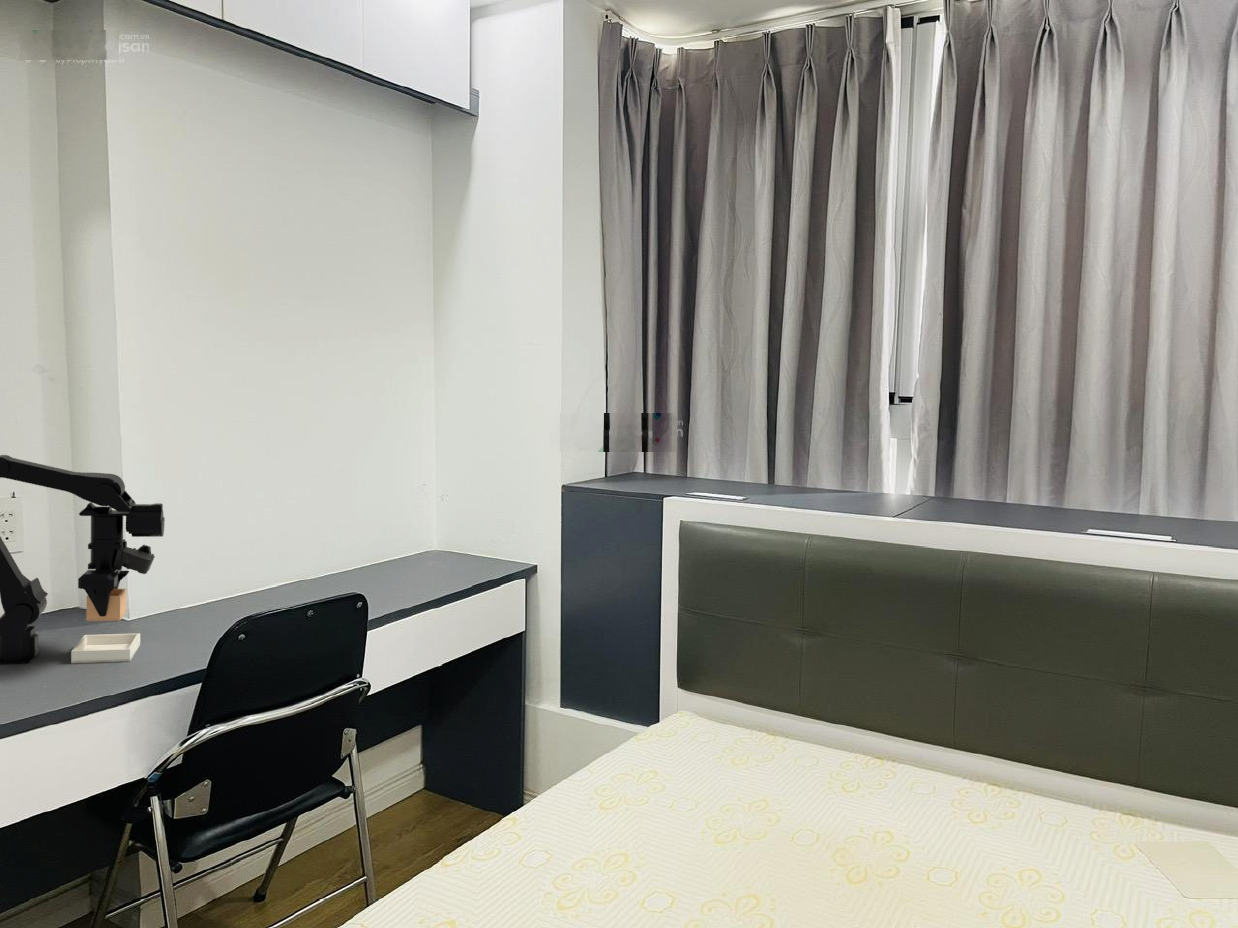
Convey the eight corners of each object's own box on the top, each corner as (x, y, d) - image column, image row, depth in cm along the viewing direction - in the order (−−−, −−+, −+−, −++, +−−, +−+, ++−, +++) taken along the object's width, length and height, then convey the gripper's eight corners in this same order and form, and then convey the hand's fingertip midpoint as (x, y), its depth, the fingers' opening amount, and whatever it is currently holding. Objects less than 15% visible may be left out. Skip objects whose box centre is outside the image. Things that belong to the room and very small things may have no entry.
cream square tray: (71, 663, 178) (71, 651, 178) (84, 646, 188) (84, 634, 188) (130, 661, 181) (130, 649, 181) (140, 644, 191) (140, 633, 191)
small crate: (86, 621, 180) (86, 596, 179) (93, 612, 185) (93, 588, 185) (120, 620, 182) (120, 596, 181) (126, 611, 187) (126, 588, 187)
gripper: (142, 547, 175) (141, 624, 177) (159, 528, 193) (158, 598, 195) (77, 546, 172) (77, 625, 174) (100, 527, 190) (100, 599, 191)
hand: (106, 611), depth 183 cm, fingers closed on small crate, 6 cm apart
